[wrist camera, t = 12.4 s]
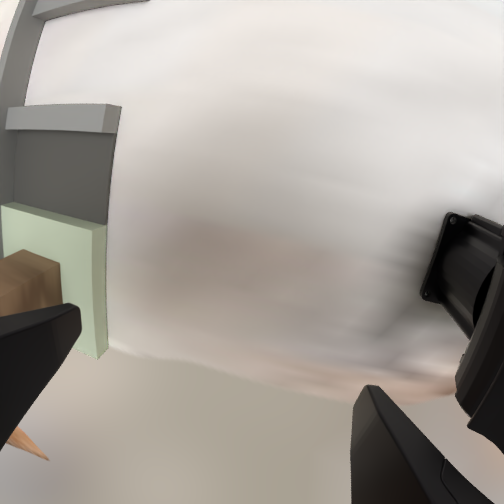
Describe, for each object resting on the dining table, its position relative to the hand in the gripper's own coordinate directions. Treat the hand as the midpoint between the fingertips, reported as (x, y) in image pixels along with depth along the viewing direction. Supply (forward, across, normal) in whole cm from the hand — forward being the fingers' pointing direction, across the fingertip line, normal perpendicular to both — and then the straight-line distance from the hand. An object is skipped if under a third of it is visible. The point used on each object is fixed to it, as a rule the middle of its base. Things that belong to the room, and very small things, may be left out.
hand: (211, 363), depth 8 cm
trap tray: (+13, +18, -2) cm, 22 cm away
